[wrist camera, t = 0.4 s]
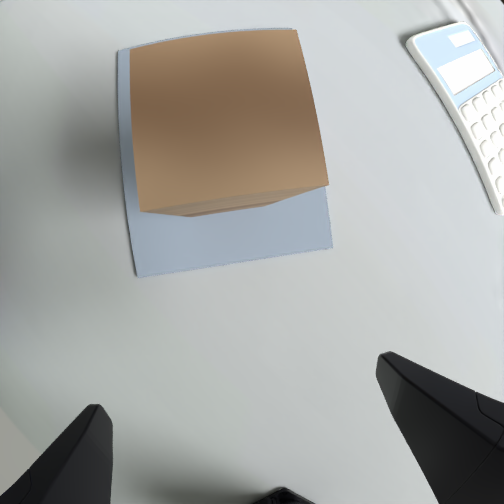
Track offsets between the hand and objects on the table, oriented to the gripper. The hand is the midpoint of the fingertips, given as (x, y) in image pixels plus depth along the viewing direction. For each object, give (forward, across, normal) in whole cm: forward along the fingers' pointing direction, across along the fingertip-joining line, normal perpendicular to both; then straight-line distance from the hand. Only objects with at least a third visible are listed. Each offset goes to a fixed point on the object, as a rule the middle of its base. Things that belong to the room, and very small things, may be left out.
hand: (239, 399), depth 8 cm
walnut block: (+15, -1, -5) cm, 15 cm away
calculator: (+17, -29, -9) cm, 35 cm away
